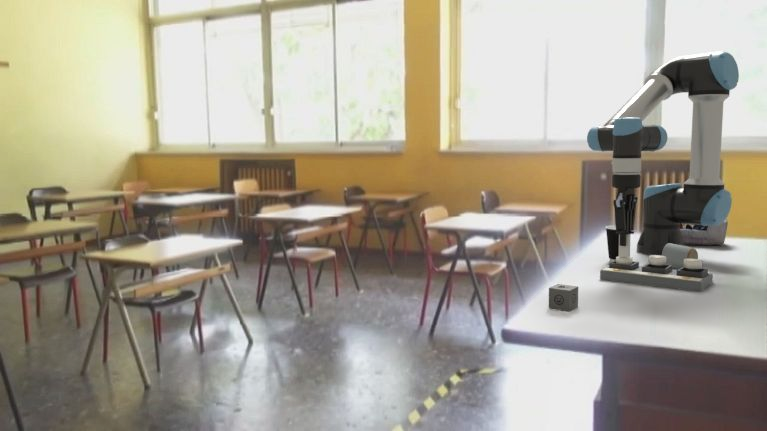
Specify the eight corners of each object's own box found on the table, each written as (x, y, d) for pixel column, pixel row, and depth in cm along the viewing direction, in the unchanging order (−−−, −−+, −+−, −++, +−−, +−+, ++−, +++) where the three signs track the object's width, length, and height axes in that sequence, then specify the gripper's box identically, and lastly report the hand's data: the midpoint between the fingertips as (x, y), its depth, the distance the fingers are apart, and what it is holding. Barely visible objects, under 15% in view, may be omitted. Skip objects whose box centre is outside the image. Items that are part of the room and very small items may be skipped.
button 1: (619, 262, 186) (619, 255, 185) (634, 264, 183) (634, 257, 183) (613, 264, 182) (613, 257, 182) (629, 266, 179) (629, 259, 179)
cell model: (729, 217, 224) (667, 216, 232) (729, 247, 225) (666, 246, 233) (726, 212, 236) (666, 212, 243) (726, 241, 237) (666, 240, 245)
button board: (615, 271, 189) (615, 258, 188) (712, 282, 172) (713, 268, 172) (600, 279, 180) (600, 265, 179) (700, 291, 163) (701, 276, 163)
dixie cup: (634, 263, 200) (635, 228, 199) (608, 263, 201) (609, 228, 199) (626, 259, 208) (627, 225, 207) (601, 259, 209) (602, 225, 207)
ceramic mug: (688, 274, 184) (689, 247, 183) (660, 270, 190) (661, 244, 189) (703, 269, 191) (704, 243, 190) (675, 265, 197) (676, 240, 196)
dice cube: (557, 304, 154) (558, 283, 153) (577, 307, 151) (578, 286, 150) (548, 308, 150) (548, 287, 150) (569, 312, 147) (569, 290, 146)
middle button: (651, 261, 180) (651, 254, 180) (668, 263, 177) (668, 256, 177) (646, 264, 176) (646, 257, 176) (663, 266, 174) (663, 258, 173)
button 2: (685, 265, 174) (686, 257, 174) (703, 267, 171) (703, 259, 171) (681, 267, 171) (681, 260, 171) (699, 269, 168) (699, 262, 168)
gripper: (621, 172, 187) (619, 252, 190) (604, 174, 177) (602, 259, 180) (647, 172, 182) (645, 254, 185) (632, 175, 172) (629, 261, 175)
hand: (624, 256), depth 182 cm, fingers closed
